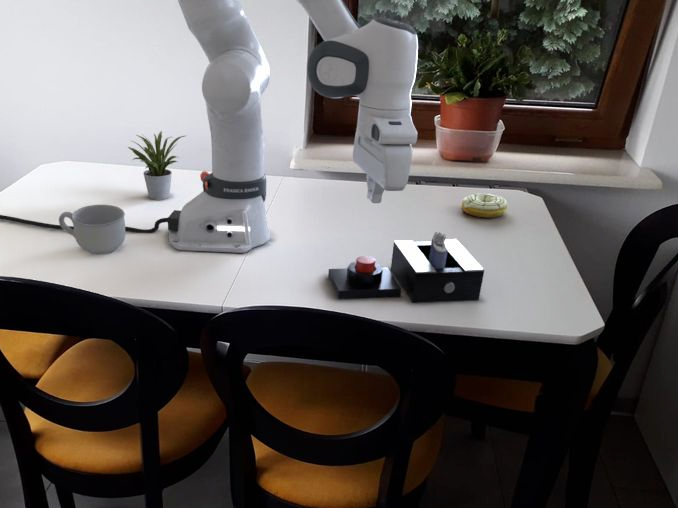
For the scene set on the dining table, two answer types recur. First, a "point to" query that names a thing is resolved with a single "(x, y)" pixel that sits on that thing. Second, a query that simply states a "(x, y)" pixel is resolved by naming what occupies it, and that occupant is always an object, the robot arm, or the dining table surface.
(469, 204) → the decorated donut
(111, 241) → the teacup
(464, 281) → the glossy black box
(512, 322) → the dining table surface
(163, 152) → the house plant
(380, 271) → the control block
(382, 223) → the dining table surface
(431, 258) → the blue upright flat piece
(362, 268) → the stop button
